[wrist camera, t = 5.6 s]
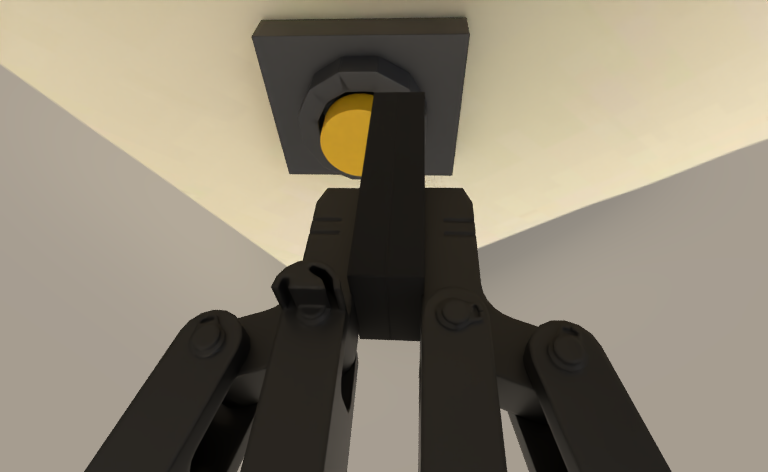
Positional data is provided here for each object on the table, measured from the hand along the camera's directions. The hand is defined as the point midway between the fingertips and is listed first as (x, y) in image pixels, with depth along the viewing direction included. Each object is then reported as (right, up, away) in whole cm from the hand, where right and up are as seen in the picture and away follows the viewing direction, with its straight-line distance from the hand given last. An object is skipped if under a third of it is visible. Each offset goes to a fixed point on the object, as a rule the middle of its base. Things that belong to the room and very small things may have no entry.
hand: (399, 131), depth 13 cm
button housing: (-2, +6, +14) cm, 16 cm away
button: (-2, +3, +12) cm, 13 cm away
